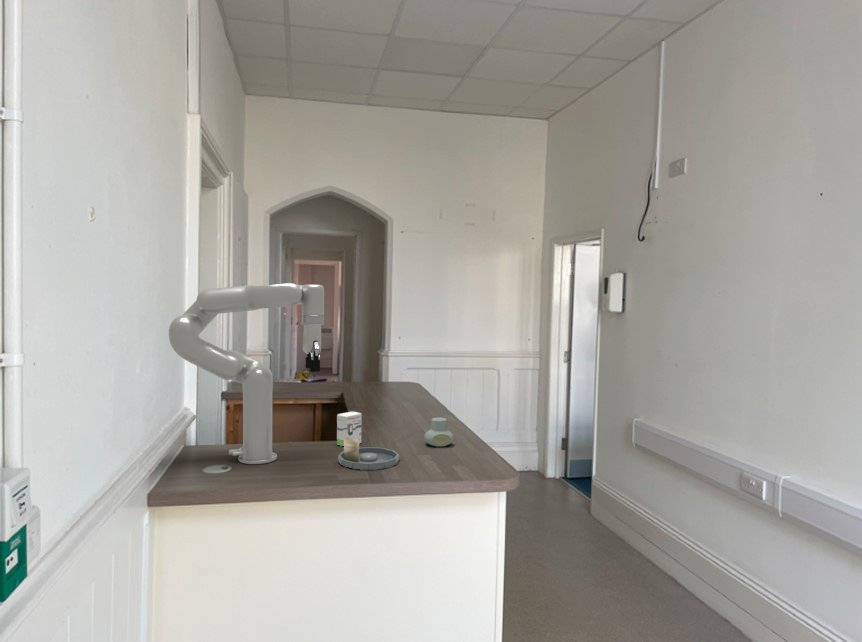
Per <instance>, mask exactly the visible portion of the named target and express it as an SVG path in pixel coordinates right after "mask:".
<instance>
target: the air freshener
mask: <svg viewBox="0 0 862 642" xmlns="http://www.w3.org/2000/svg"><path fill="white" fill-rule="evenodd" d="M430 421H431V425H430V426H431V427H430V429H428V431H426V432H425V433H424V436H423V437H424V440H425V442H426V443H427V444H428V445H430V446H432V447H436V448H443V447H446V446H448V445H450V444H451V443H452V442H453V440H454V434H453V433H452V432H451V431H450V429H448V420H447V418H446V417H440V416H439V417H432V418H431V420H430Z"/></svg>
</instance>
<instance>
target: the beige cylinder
mask: <svg viewBox="0 0 862 642" xmlns="http://www.w3.org/2000/svg"><path fill="white" fill-rule="evenodd" d="M359 448H360V444H359V440H358V439H346V440H344V447H343V451H344V460H348V461H352V462H359Z"/></svg>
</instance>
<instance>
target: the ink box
mask: <svg viewBox="0 0 862 642" xmlns="http://www.w3.org/2000/svg"><path fill="white" fill-rule="evenodd" d="M362 417H363V416H362V413H361V412H358V411H348V412H342V413H337V415H336V424H337V425H336V446H337V445H340V446H339V447H342V446H344V440H346V439H358V440H359V445H361V444H362V423H363V422H362V421H363V420H362ZM360 443H361V444H360Z"/></svg>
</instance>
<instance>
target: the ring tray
mask: <svg viewBox="0 0 862 642" xmlns="http://www.w3.org/2000/svg"><path fill="white" fill-rule="evenodd" d="M399 461H400V454H399V453H398V452H397V451H396V450H393V449H390V448H385V447H374V446H373V447H372V446H371V447H370V446H368V447H367V446H365V447H359V462H352V461H348V460H344V450H343V451H341V452H340V453H339V454H338V455H337V462H338V464H339V463H340V464H341V465H343V466H346V467H349V468H353V469H352V470H355V469H360V470H359V471H378V469H379V470H385V469H389V468H391V467H394V466H396V465H398V463H399ZM340 464H339V465H340ZM341 465H340V466H341ZM343 466H342V467H343ZM346 467H345V468H346ZM349 468H348V469H349Z"/></svg>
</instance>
